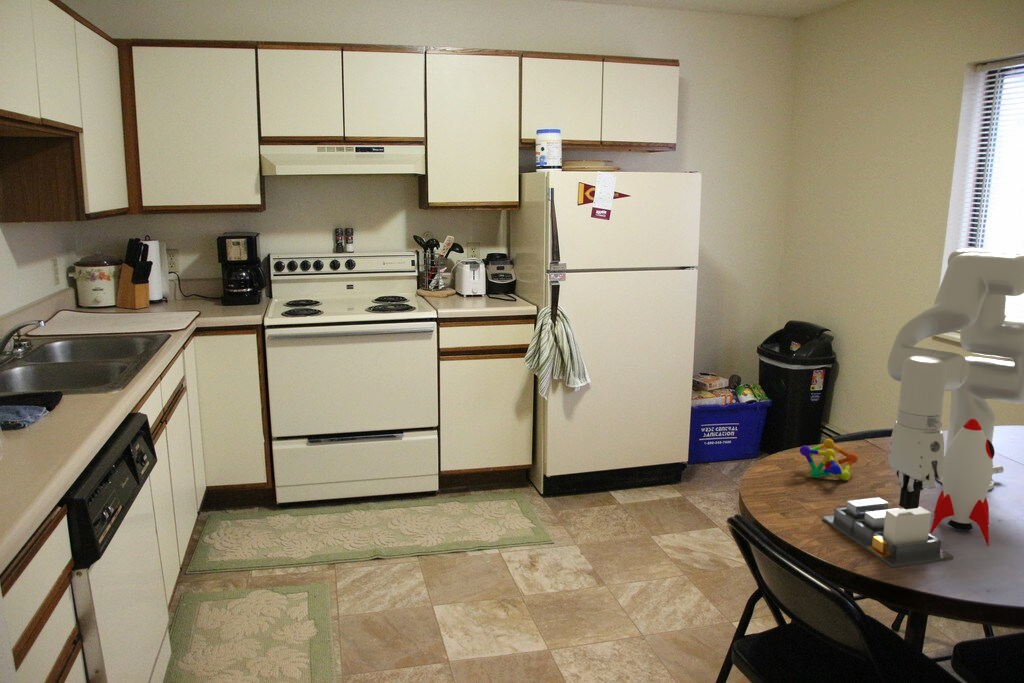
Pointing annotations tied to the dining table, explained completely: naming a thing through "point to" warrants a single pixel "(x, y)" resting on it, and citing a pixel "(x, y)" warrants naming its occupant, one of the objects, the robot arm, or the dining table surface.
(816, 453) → the decorative model
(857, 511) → the rack
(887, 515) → the block
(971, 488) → the rocket
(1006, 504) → the dining table surface
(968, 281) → the robot arm
